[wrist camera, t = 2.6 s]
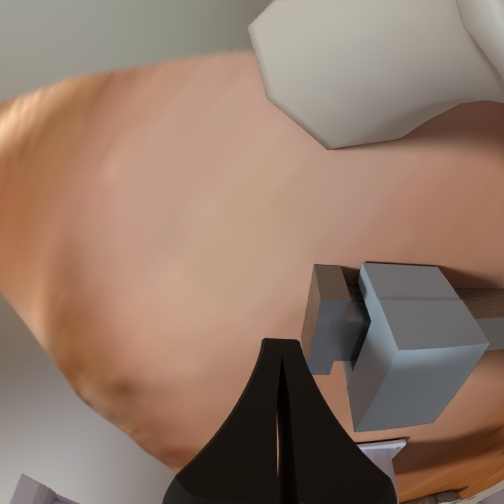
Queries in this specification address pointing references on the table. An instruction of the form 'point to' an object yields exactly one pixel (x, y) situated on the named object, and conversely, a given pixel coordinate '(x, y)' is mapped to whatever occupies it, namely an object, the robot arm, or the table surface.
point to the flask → (377, 63)
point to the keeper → (410, 348)
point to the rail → (358, 319)
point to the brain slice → (437, 499)
